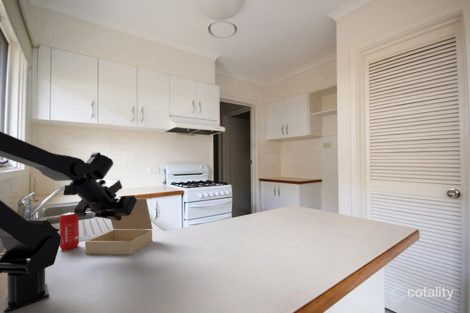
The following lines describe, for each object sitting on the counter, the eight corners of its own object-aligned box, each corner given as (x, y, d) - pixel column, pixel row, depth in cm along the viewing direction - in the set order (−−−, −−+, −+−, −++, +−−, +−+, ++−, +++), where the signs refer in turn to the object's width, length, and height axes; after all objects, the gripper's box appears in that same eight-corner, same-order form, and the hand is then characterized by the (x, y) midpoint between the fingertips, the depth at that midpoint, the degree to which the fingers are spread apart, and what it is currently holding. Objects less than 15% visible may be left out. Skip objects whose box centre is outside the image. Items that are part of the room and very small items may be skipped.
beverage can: (68, 251, 71) (67, 215, 71) (56, 251, 72) (55, 215, 72) (82, 245, 76) (81, 211, 76) (70, 245, 77) (70, 211, 77)
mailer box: (130, 255, 65) (129, 242, 65) (85, 254, 68) (85, 241, 68) (152, 241, 76) (152, 229, 77) (113, 240, 79) (113, 229, 80)
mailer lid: (145, 198, 74) (146, 198, 74) (105, 199, 77) (106, 199, 77) (151, 229, 77) (152, 228, 77) (113, 229, 80) (114, 228, 80)
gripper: (131, 170, 66) (153, 199, 76) (81, 172, 69) (108, 200, 80) (114, 200, 58) (140, 227, 68) (57, 201, 61) (91, 227, 72)
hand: (120, 219), depth 72 cm, fingers closed
